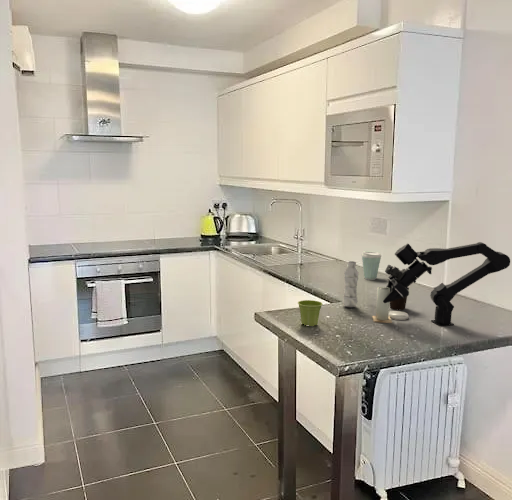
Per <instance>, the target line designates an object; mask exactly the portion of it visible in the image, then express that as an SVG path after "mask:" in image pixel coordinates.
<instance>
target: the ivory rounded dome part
mask: <svg viewBox="0 0 512 500" xmlns="http://www.w3.org/2000/svg"><path fill="white" fill-rule="evenodd" d="M389 317H390V318H391V320H396V321H406V320H408V319H409V314H408V313H407V312H406V311H402V310H389Z"/></svg>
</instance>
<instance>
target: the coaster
mask: <svg viewBox="0 0 512 500" xmlns="http://www.w3.org/2000/svg"><path fill="white" fill-rule="evenodd" d="M371 318H372V321H373V323H387V324H392V323H393V320H392V319H391V318H390V317H389V318H388V320H378V319H376V315H371Z"/></svg>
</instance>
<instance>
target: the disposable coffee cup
mask: <svg viewBox="0 0 512 500" xmlns="http://www.w3.org/2000/svg"><path fill="white" fill-rule="evenodd" d="M381 257H382V255H381V253H380V252H376V251H368V250H366V251H365V250H364V251H362V254H361V261H362V271H363V277H364V279H365V280H367V281H368V280H369V281H375V280H376V279H377V277H378V274H379V273H378V272H379V268H380V263H381V259H382V258H381Z"/></svg>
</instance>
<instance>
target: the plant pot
mask: <svg viewBox="0 0 512 500" xmlns="http://www.w3.org/2000/svg"><path fill="white" fill-rule="evenodd" d="M297 304H298V307H299V312H300V322H301V323H302V324H304V325H303V326H305V325H309V326H314V325H317V326H318V323H319V317H320V311H321V309H322V306H323V302H321V301H318V300H311V299H304V300H300V301H298V302H297ZM302 324H301V325H302ZM314 327H315V326H314Z"/></svg>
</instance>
